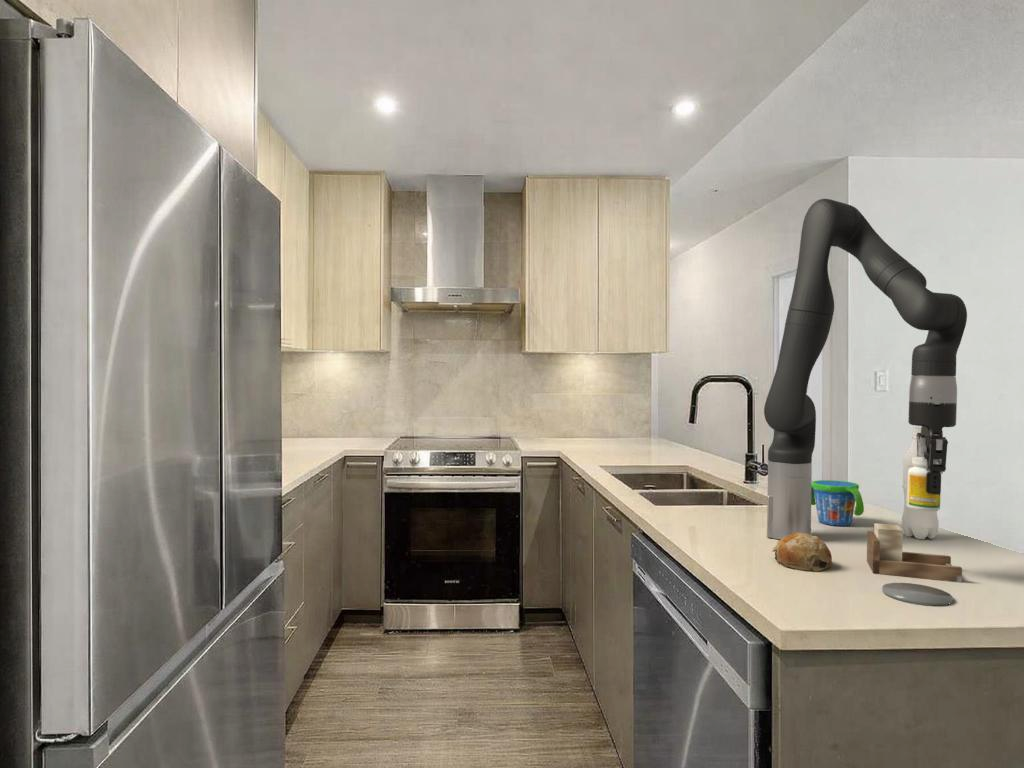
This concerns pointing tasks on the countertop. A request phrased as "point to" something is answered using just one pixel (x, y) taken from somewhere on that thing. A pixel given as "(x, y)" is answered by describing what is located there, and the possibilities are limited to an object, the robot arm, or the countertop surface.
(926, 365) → the robot arm
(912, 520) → the water bottle
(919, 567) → the rack
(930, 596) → the coaster
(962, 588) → the countertop surface
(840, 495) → the snack cup
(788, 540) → the bread roll
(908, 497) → the supplement bottle
